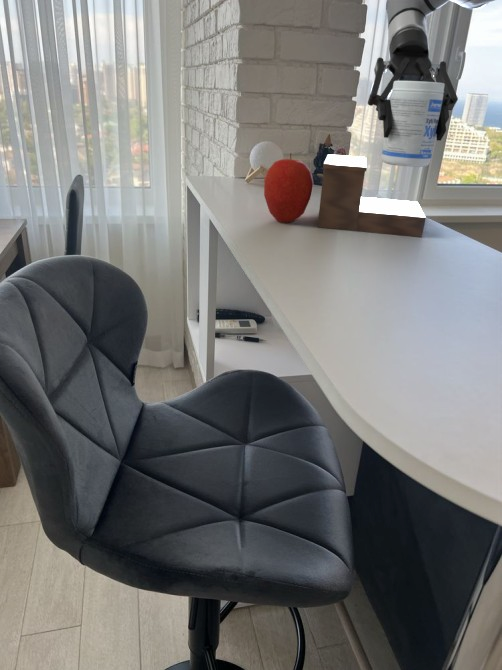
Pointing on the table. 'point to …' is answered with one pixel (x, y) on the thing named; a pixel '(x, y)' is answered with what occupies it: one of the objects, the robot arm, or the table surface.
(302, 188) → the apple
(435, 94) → the supplement tub
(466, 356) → the table surface
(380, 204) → the step shelf
